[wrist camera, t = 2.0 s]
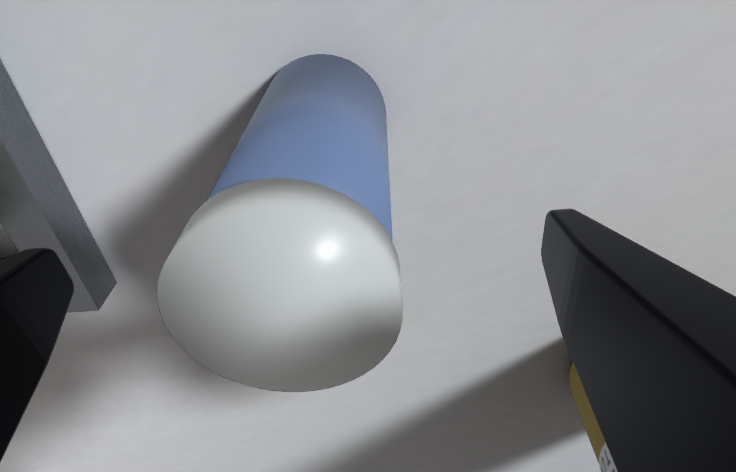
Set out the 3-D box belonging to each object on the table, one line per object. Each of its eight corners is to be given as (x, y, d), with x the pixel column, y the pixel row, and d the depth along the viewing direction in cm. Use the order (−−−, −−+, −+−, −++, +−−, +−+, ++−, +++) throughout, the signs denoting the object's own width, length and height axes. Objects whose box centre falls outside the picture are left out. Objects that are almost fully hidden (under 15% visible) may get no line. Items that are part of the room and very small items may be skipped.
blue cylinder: (383, 40, 13) (394, 204, 6) (393, 163, 16) (408, 386, 9) (249, 53, 14) (116, 224, 7) (276, 173, 16) (199, 396, 9)
